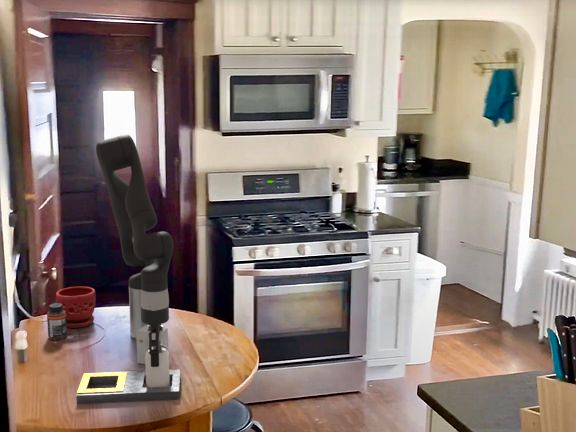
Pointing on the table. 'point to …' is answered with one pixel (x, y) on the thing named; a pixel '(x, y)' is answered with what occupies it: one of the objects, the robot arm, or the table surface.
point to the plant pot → (77, 305)
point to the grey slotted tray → (125, 388)
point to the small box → (143, 342)
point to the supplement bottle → (56, 322)
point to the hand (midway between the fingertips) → (156, 360)
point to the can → (158, 369)
